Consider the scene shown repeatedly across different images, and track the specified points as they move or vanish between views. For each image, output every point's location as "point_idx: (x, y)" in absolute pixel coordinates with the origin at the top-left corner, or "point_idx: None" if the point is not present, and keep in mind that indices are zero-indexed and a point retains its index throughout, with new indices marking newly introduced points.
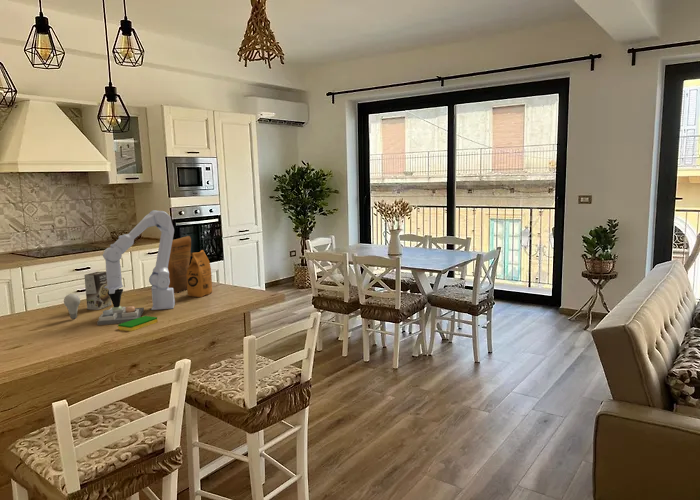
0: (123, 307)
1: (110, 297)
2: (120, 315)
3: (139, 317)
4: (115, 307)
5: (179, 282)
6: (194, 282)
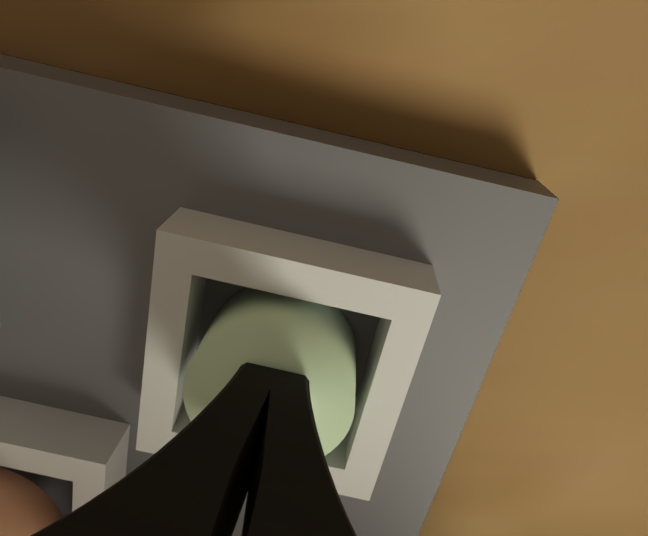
0: None
1: (77, 510)
2: (27, 368)
3: None
4: None
5: None
6: None
